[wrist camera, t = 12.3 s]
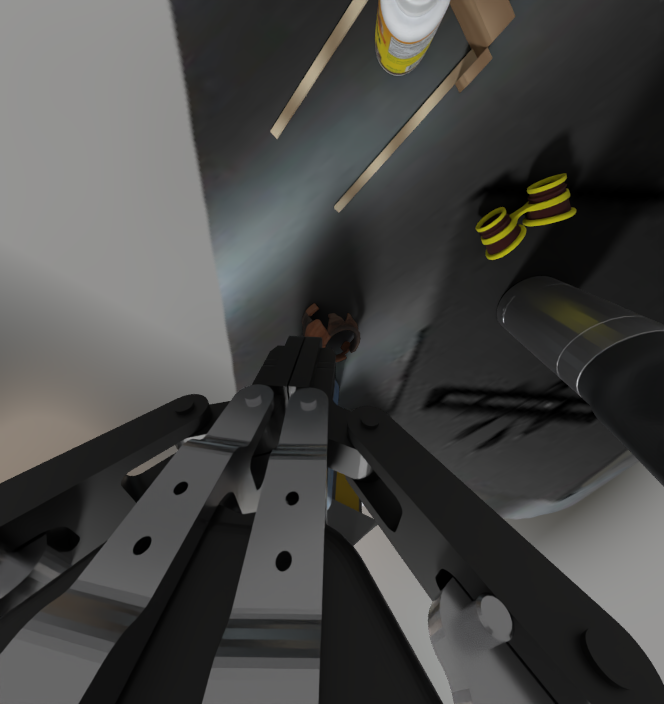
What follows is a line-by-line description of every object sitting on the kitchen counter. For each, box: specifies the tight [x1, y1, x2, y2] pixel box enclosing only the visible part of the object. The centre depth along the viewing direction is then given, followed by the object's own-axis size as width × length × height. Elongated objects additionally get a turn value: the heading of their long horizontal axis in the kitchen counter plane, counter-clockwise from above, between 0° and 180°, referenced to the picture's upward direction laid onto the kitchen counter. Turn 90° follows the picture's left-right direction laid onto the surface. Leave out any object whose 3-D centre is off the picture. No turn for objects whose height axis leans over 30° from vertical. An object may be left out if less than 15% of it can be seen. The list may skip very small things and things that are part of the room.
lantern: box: [327, 470, 378, 546], centre depth 51 cm, size 14×14×30 cm
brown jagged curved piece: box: [302, 304, 360, 362], centre depth 42 cm, size 12×10×8 cm
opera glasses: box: [476, 173, 576, 260], centre depth 30 cm, size 10×5×5 cm, turn 127°
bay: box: [271, 0, 515, 213], centre depth 25 cm, size 22×14×4 cm, turn 135°
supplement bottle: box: [375, 0, 450, 76], centre depth 20 cm, size 6×6×10 cm
